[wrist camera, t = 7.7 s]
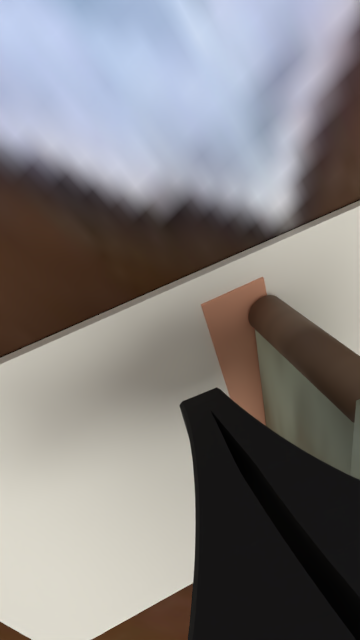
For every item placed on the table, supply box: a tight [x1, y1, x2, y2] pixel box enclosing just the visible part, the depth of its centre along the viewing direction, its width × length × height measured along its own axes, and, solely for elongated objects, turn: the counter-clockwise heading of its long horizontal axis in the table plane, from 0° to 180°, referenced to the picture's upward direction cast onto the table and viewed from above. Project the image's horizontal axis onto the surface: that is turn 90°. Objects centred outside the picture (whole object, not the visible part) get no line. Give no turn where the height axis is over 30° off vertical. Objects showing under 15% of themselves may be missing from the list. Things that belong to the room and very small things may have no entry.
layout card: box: [0, 200, 360, 640], centre depth 14 cm, size 18×29×6 cm, turn 107°
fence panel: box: [248, 295, 360, 480], centre depth 13 cm, size 11×1×5 cm, turn 12°
